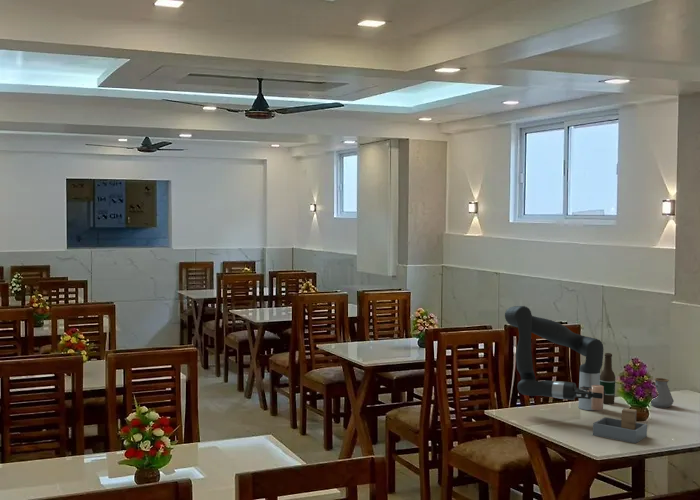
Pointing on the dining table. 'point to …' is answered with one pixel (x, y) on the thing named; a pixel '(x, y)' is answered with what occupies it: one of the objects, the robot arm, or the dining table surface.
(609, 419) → the blue-gray tote
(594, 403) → the terracotta cylinder
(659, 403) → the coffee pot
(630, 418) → the walnut block
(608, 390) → the beer bottle
